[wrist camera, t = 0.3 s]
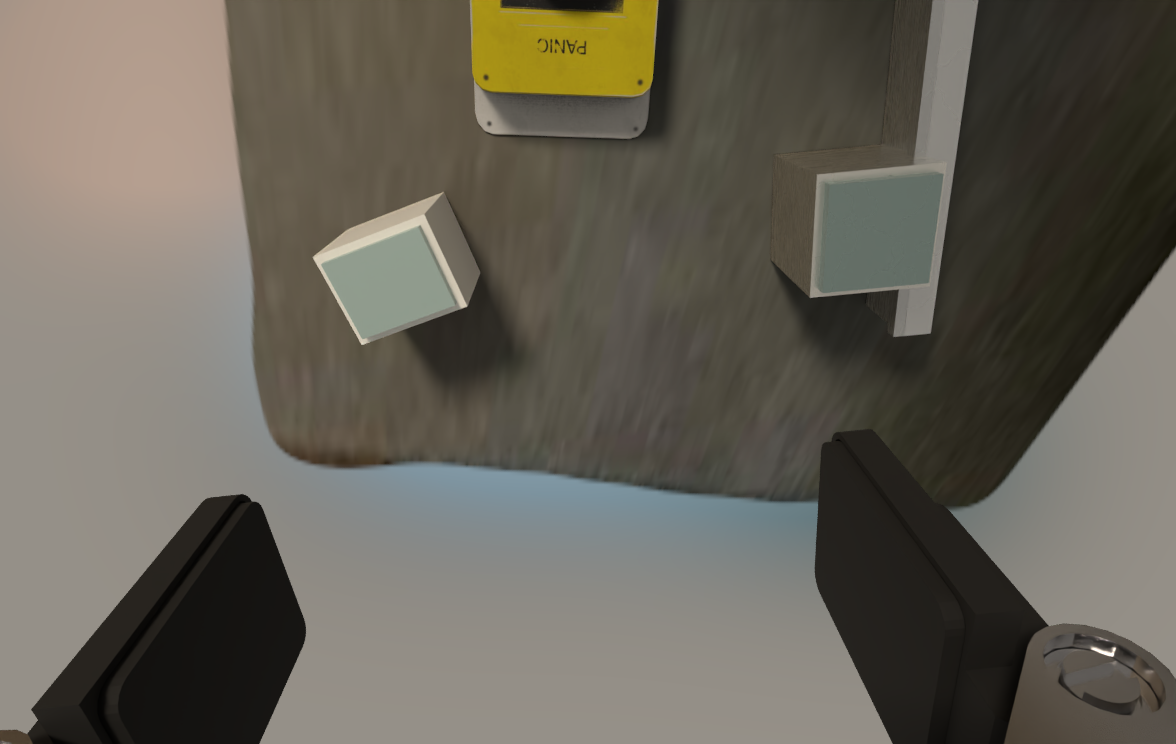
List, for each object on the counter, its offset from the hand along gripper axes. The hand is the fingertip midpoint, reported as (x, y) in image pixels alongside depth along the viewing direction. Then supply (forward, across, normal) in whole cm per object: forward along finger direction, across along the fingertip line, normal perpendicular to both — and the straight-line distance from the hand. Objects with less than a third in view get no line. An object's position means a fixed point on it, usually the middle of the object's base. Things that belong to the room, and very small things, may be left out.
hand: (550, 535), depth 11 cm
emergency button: (+30, -2, -11) cm, 32 cm away
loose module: (+30, +9, +2) cm, 31 cm away
